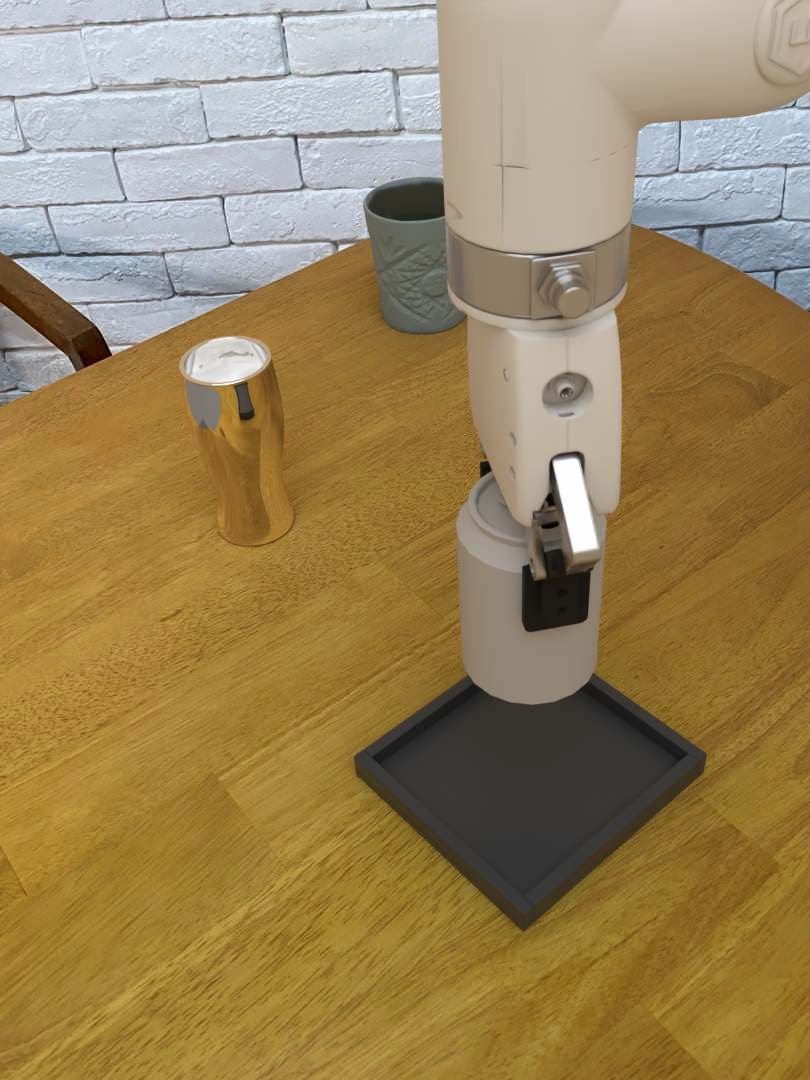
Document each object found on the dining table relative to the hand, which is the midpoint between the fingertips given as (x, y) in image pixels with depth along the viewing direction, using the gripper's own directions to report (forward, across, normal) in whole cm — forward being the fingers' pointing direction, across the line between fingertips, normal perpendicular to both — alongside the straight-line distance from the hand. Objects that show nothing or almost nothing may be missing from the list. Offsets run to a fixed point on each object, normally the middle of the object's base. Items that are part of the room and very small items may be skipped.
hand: (531, 566), depth 58 cm
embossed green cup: (+17, +57, -5) cm, 60 cm away
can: (+7, 0, 0) cm, 7 cm away
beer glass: (+17, +29, +14) cm, 36 cm away
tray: (+17, 0, 0) cm, 17 cm away
